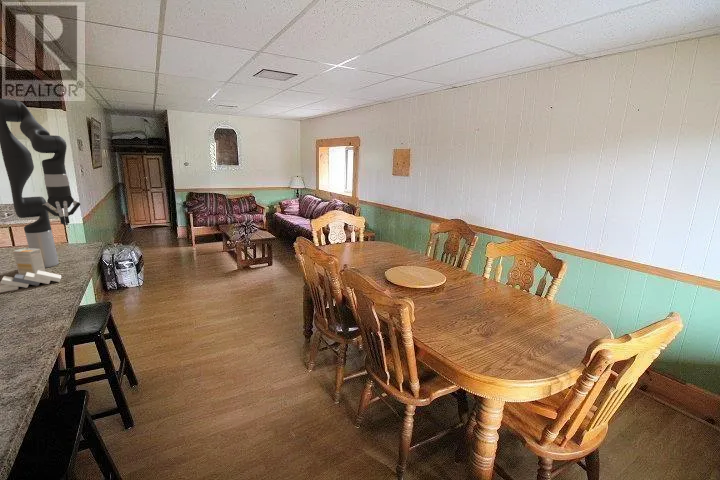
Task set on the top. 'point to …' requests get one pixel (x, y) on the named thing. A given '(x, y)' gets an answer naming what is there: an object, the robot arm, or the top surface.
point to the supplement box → (28, 260)
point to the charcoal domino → (21, 279)
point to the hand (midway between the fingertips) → (65, 224)
